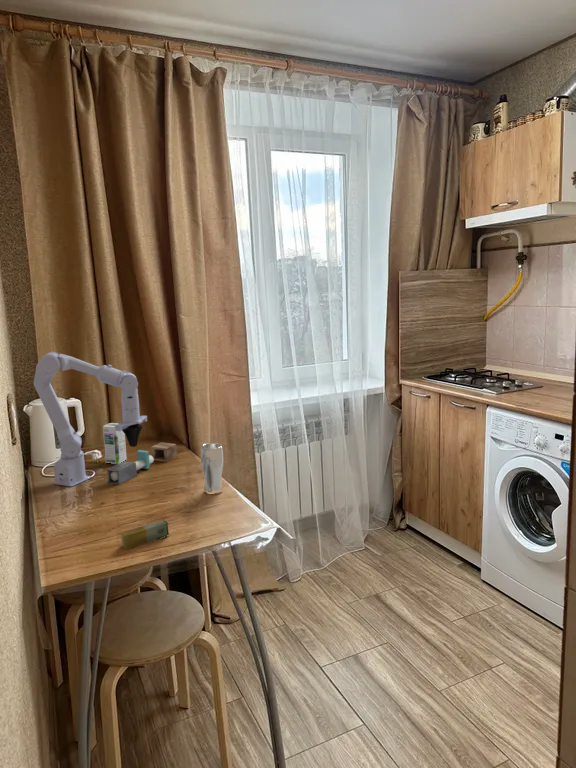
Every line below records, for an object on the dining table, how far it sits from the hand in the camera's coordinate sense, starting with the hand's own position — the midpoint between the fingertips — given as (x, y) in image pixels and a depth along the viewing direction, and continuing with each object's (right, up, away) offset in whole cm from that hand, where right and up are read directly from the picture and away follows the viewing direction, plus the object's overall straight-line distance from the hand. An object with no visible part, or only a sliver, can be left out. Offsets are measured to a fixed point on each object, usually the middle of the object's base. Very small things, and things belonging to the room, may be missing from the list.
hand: (133, 446), depth 192 cm
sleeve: (-2, -11, -4) cm, 12 cm away
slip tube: (0, -10, +1) cm, 10 cm away
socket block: (+7, -7, +17) cm, 20 cm away
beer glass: (+30, -13, -17) cm, 37 cm away
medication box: (+17, -19, -50) cm, 56 cm away
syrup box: (-11, -8, +15) cm, 20 cm away
